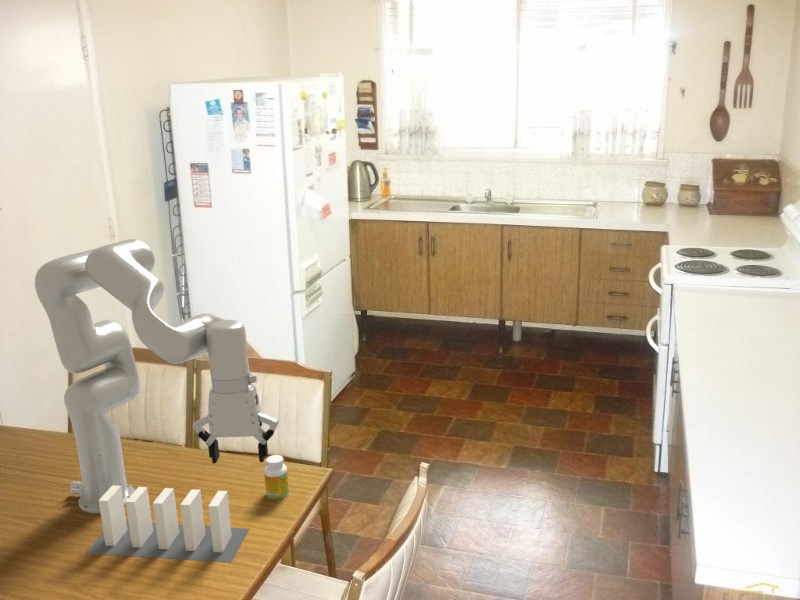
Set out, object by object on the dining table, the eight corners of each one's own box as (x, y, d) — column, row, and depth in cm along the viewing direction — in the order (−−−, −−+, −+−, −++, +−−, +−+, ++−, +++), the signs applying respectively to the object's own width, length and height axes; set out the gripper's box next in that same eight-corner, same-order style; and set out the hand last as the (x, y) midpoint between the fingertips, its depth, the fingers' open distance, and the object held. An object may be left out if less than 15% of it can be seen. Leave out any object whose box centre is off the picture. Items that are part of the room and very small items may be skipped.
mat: (85, 555, 161) (85, 553, 161) (113, 523, 172) (112, 521, 172) (231, 564, 157) (231, 562, 157) (249, 530, 168) (249, 528, 168)
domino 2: (132, 547, 162) (125, 501, 159) (144, 530, 168) (138, 486, 165) (141, 547, 162) (134, 502, 159) (153, 531, 168) (147, 487, 165)
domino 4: (185, 550, 161) (180, 504, 158) (196, 533, 166) (191, 489, 163) (194, 550, 161) (189, 505, 157) (205, 534, 166) (200, 489, 163)
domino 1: (105, 545, 163) (98, 500, 160) (118, 529, 169) (112, 485, 166) (114, 546, 163) (107, 500, 160) (127, 529, 168) (121, 485, 165)
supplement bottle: (284, 502, 179) (281, 465, 176) (262, 500, 180) (259, 463, 177) (292, 490, 184) (289, 454, 181) (270, 488, 185) (268, 452, 182)
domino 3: (158, 548, 162) (152, 503, 158) (170, 532, 167) (164, 488, 164) (167, 549, 161) (161, 503, 158) (179, 532, 167) (173, 488, 164)
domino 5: (213, 551, 160) (208, 506, 157) (222, 535, 166) (218, 490, 162) (222, 552, 160) (217, 506, 157) (231, 535, 165) (227, 491, 162)
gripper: (277, 373, 154) (284, 450, 159) (193, 376, 155) (202, 452, 160) (271, 388, 147) (278, 467, 152) (182, 390, 148) (192, 469, 153)
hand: (239, 459), depth 156 cm, fingers open, 9 cm apart
